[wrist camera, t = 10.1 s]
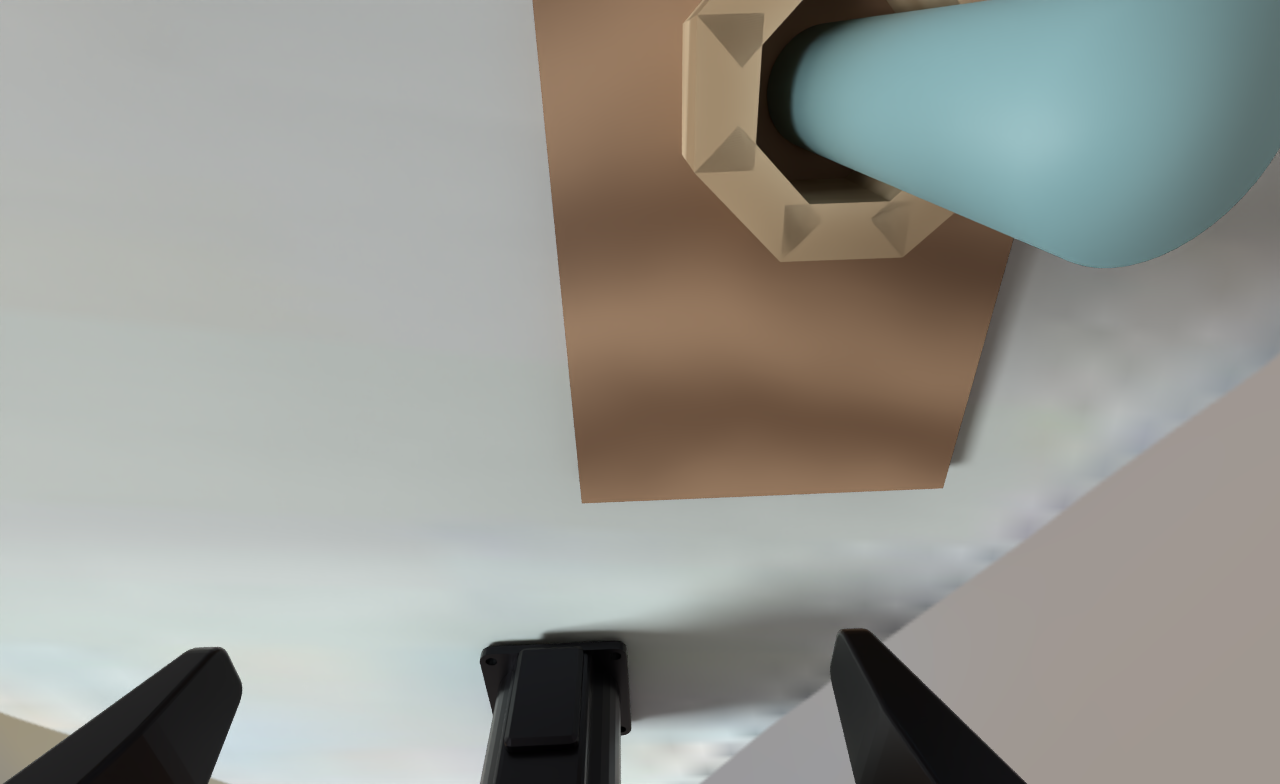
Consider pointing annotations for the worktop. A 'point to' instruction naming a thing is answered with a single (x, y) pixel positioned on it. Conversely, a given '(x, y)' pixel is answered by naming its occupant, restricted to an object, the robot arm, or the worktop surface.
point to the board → (735, 292)
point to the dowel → (1048, 114)
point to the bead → (745, 177)
